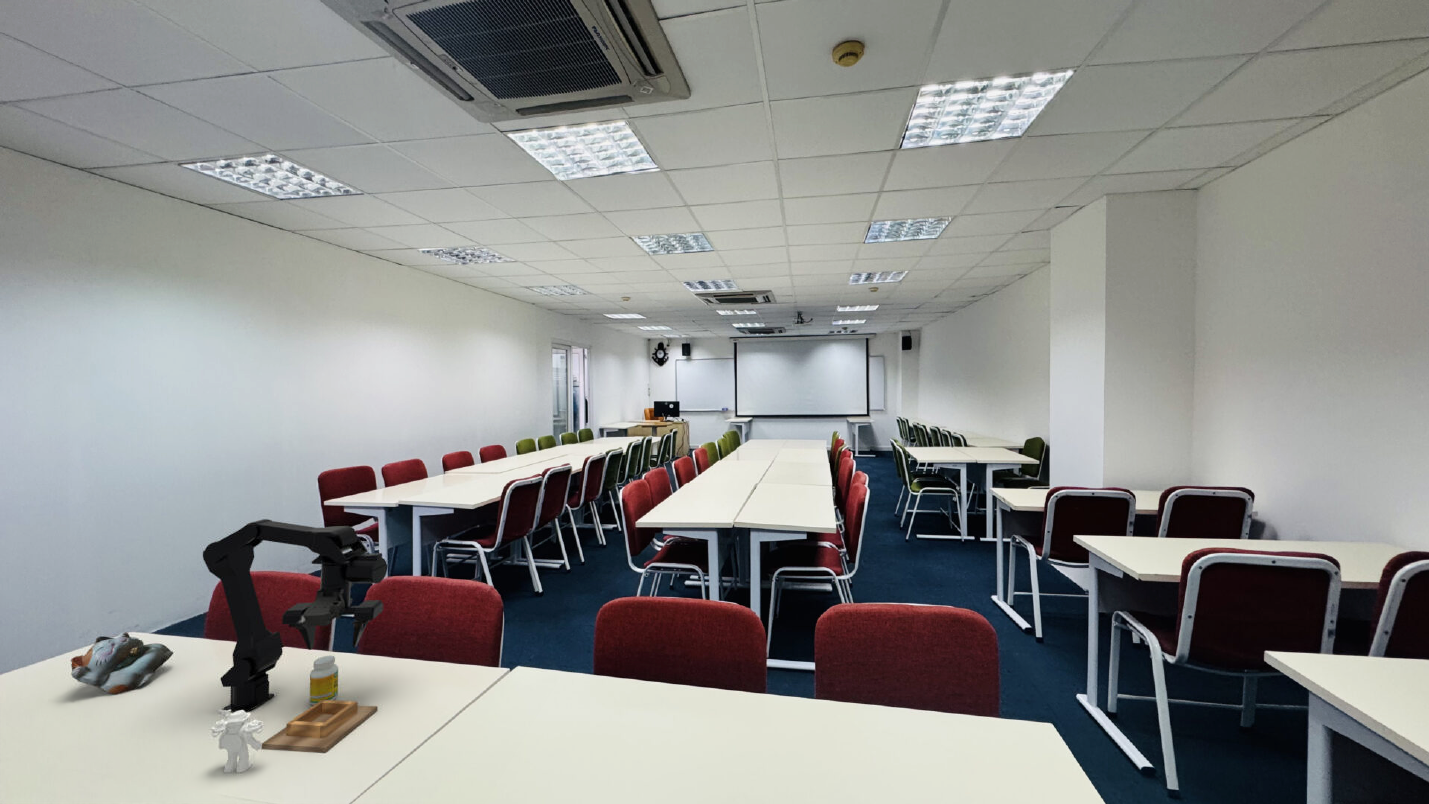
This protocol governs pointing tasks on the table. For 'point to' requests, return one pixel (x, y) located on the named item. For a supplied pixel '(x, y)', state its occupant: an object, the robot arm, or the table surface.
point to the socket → (320, 726)
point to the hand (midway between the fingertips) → (332, 647)
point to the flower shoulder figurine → (237, 738)
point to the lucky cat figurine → (119, 663)
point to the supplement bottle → (323, 680)
